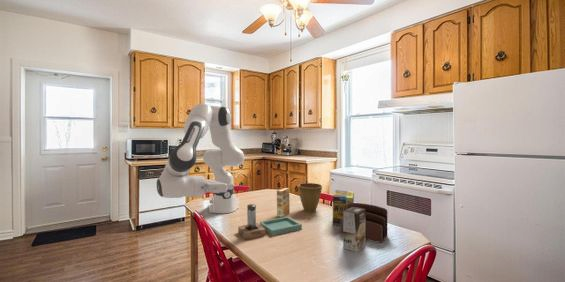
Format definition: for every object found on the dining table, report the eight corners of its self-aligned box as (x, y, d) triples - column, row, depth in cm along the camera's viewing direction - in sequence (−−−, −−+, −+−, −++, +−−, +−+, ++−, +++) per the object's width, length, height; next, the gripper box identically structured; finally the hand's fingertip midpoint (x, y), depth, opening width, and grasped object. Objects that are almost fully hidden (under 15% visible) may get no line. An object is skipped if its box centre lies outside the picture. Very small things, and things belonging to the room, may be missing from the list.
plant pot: (295, 212, 159) (295, 186, 159) (301, 206, 174) (301, 182, 173) (320, 215, 155) (320, 188, 154) (323, 208, 169) (323, 183, 169)
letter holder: (347, 227, 135) (347, 200, 134) (387, 236, 124) (388, 206, 123) (340, 233, 127) (340, 205, 126) (382, 243, 115) (382, 212, 115)
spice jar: (246, 233, 127) (246, 204, 127) (253, 231, 129) (253, 203, 129) (249, 236, 124) (249, 207, 123) (257, 234, 126) (257, 205, 125)
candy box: (282, 217, 151) (282, 191, 150) (276, 216, 153) (276, 190, 152) (289, 213, 159) (289, 188, 158) (283, 212, 161) (283, 187, 160)
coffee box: (357, 252, 107) (357, 213, 106) (342, 248, 111) (342, 210, 110) (365, 245, 114) (366, 208, 113) (351, 241, 118) (352, 206, 117)
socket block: (238, 232, 128) (238, 226, 128) (256, 228, 133) (256, 222, 133) (245, 239, 119) (245, 233, 119) (265, 235, 124) (265, 229, 124)
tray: (259, 226, 136) (259, 221, 136) (287, 221, 144) (287, 216, 144) (272, 235, 124) (272, 230, 124) (301, 229, 132) (301, 224, 132)
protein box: (332, 225, 138) (332, 196, 137) (335, 216, 153) (335, 190, 152) (352, 227, 135) (353, 197, 134) (353, 218, 149) (354, 191, 149)
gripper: (206, 181, 104) (238, 180, 111) (192, 177, 121) (221, 176, 128) (205, 197, 103) (237, 195, 111) (191, 190, 120) (220, 189, 128)
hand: (228, 185), depth 120 cm, fingers open, 8 cm apart
